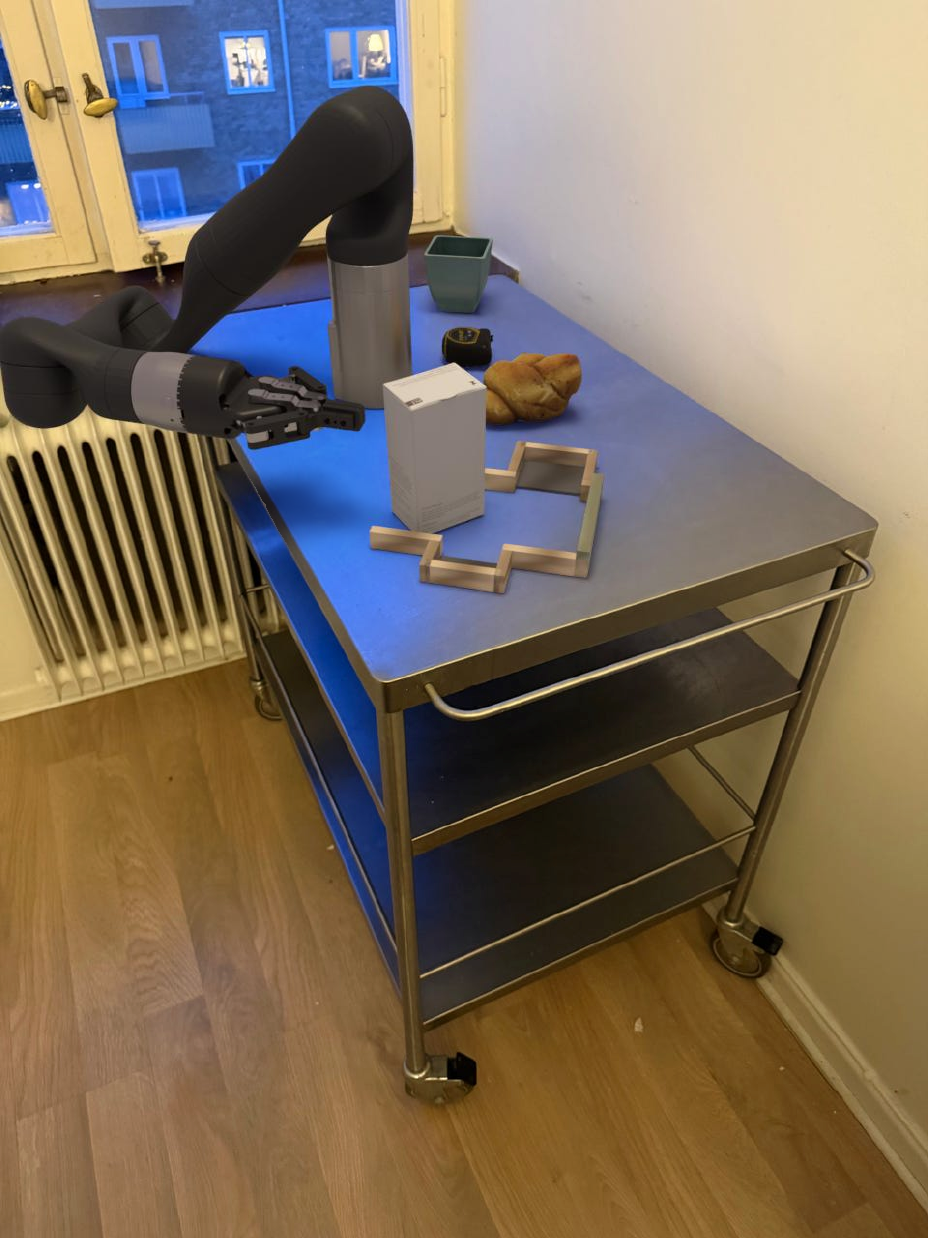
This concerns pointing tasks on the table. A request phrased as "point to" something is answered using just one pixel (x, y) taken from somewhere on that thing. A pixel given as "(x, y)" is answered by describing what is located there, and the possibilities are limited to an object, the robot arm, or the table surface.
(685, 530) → the table surface
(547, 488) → the trap lane
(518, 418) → the bread roll
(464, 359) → the tape measure
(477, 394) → the skincare box
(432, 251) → the flower pot
